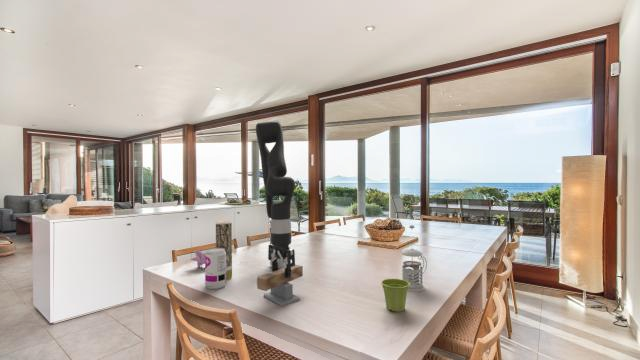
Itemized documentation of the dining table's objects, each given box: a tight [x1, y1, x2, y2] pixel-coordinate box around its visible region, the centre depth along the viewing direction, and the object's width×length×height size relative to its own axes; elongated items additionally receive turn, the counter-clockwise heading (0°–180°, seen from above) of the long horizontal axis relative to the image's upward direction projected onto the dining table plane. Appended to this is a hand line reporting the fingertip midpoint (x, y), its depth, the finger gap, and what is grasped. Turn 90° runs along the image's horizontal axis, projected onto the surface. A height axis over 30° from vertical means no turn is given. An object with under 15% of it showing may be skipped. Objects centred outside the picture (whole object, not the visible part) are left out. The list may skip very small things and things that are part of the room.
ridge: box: [263, 282, 301, 307], centre depth 117 cm, size 8×12×6 cm, turn 40°
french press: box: [401, 224, 428, 292], centre depth 128 cm, size 10×12×25 cm
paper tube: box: [215, 220, 233, 281], centre depth 142 cm, size 7×7×25 cm
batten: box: [256, 263, 304, 292], centre depth 117 cm, size 20×4×4 cm, turn 144°
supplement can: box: [204, 247, 227, 290], centre depth 131 cm, size 8×8×15 cm
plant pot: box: [380, 278, 410, 312], centre depth 108 cm, size 9×9×9 cm
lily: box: [189, 249, 206, 272], centre depth 157 cm, size 12×12×10 cm
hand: (281, 275), depth 117 cm, fingers open, 8 cm apart
